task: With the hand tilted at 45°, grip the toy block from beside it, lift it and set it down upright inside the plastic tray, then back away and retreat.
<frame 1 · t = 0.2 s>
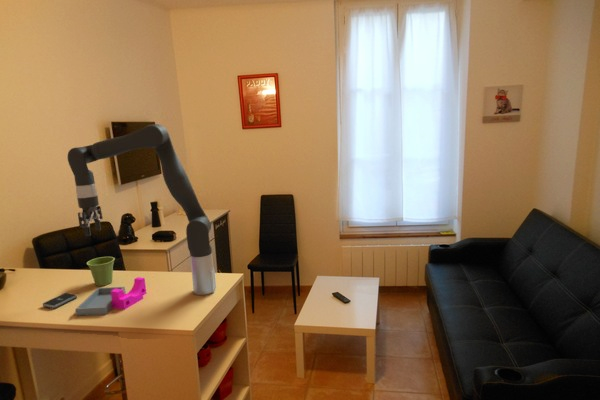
hand: (93, 233, 166), 29 cm above the breakfast bar, tool pointing down, fingers open, 8 cm apart
external hard drive: (60, 303, 167), on the breakfast bar
toy block: (132, 301, 167), on the breakfast bar
plant pot: (104, 283, 186), on the breakfast bar
tray: (102, 303, 165), on the breakfast bar
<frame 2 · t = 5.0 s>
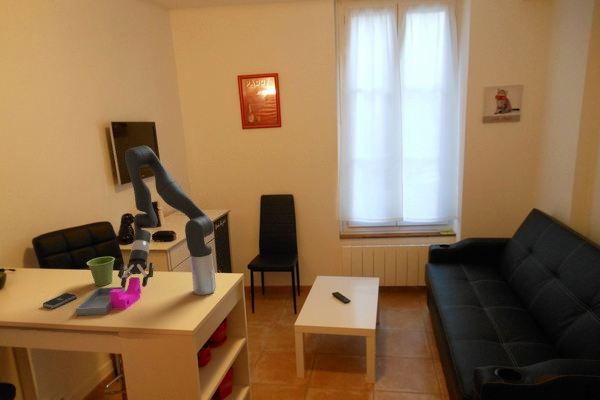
hand: (133, 286, 168), 5 cm above the breakfast bar, tool tilted 45°, fingers open, 8 cm apart
toy block: (130, 301, 167), on the breakfast bar
everything else where it was.
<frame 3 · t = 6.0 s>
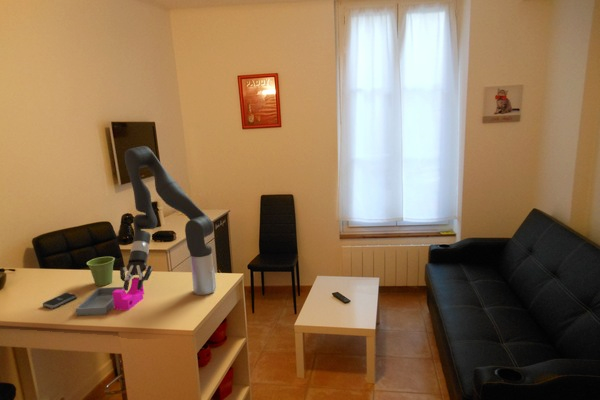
hand: (132, 289, 167), 4 cm above the breakfast bar, tool tilted 45°, fingers closed on toy block, 4 cm apart
toy block: (132, 301, 166), on the breakfast bar, touching gripper
everything else where it was.
when the fingers open (6 cm above the breakfast bar, at t = 11.5 s): toy block drops 1 cm, resting on tray.
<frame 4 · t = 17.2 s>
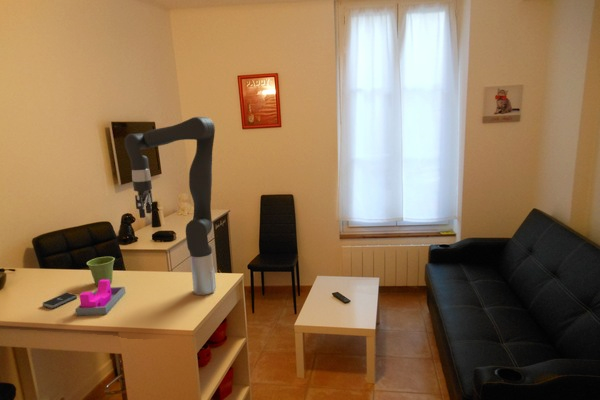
hand: (146, 215, 176), 33 cm above the breakfast bar, tool pointing down, fingers open, 8 cm apart
toy block: (100, 304, 164), resting on tray
everything else where it was.
at the end: toy block inside the target area on the tray (1.1 cm from its centre), point 0.4 cm above the tray's base; toy block tilted 0°; the gripper is holding nothing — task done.
